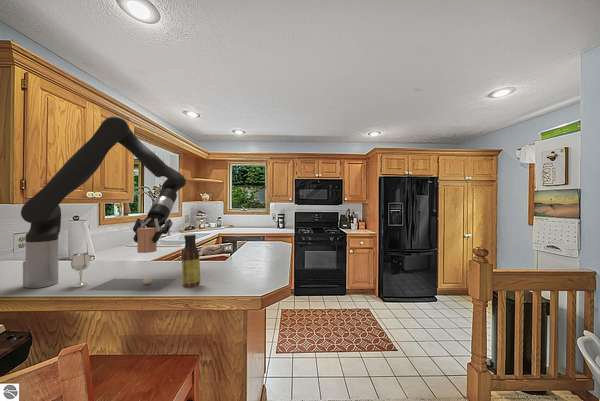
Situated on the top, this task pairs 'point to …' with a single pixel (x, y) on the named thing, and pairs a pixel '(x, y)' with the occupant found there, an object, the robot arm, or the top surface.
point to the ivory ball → (147, 280)
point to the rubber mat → (133, 285)
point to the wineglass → (80, 265)
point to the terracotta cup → (146, 240)
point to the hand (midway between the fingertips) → (144, 241)
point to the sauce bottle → (190, 262)
